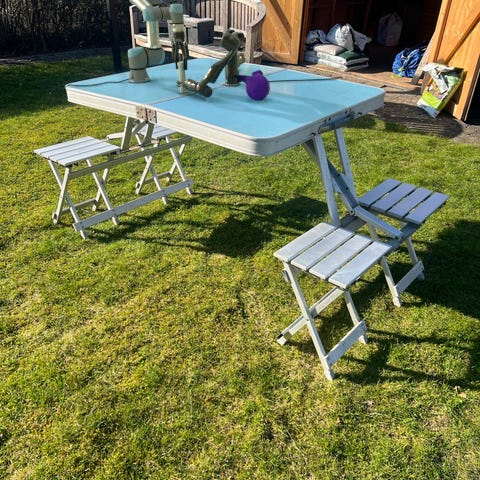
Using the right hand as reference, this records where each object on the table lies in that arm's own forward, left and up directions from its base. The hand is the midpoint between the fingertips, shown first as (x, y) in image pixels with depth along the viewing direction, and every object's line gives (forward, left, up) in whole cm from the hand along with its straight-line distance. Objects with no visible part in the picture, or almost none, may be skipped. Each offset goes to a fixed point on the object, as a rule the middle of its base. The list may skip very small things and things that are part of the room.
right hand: (180, 81), depth 303 cm
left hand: (0, +3, +8) cm, 9 cm away
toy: (-28, +47, -6) cm, 55 cm away
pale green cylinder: (0, +3, -6) cm, 7 cm away
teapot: (-70, -47, -6) cm, 84 cm away
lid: (0, +3, +12) cm, 12 cm away
